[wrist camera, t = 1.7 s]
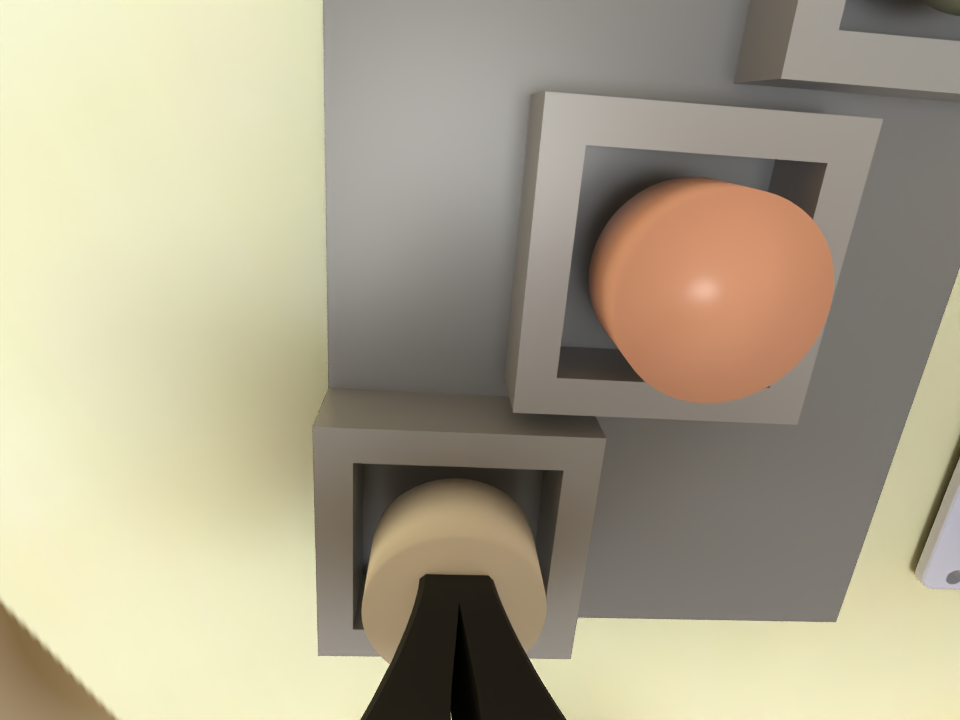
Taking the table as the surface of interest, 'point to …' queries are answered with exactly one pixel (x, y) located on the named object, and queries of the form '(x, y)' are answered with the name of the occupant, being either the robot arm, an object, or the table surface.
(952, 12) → the button sage
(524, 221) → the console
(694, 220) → the button terracotta
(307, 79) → the table surface
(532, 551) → the button cream
